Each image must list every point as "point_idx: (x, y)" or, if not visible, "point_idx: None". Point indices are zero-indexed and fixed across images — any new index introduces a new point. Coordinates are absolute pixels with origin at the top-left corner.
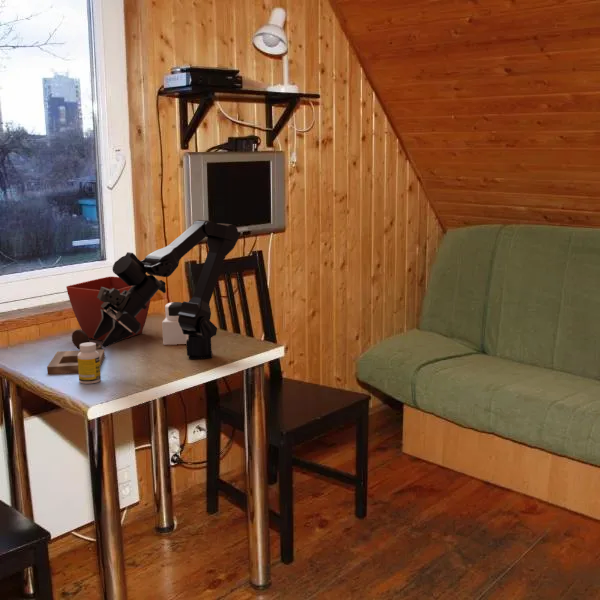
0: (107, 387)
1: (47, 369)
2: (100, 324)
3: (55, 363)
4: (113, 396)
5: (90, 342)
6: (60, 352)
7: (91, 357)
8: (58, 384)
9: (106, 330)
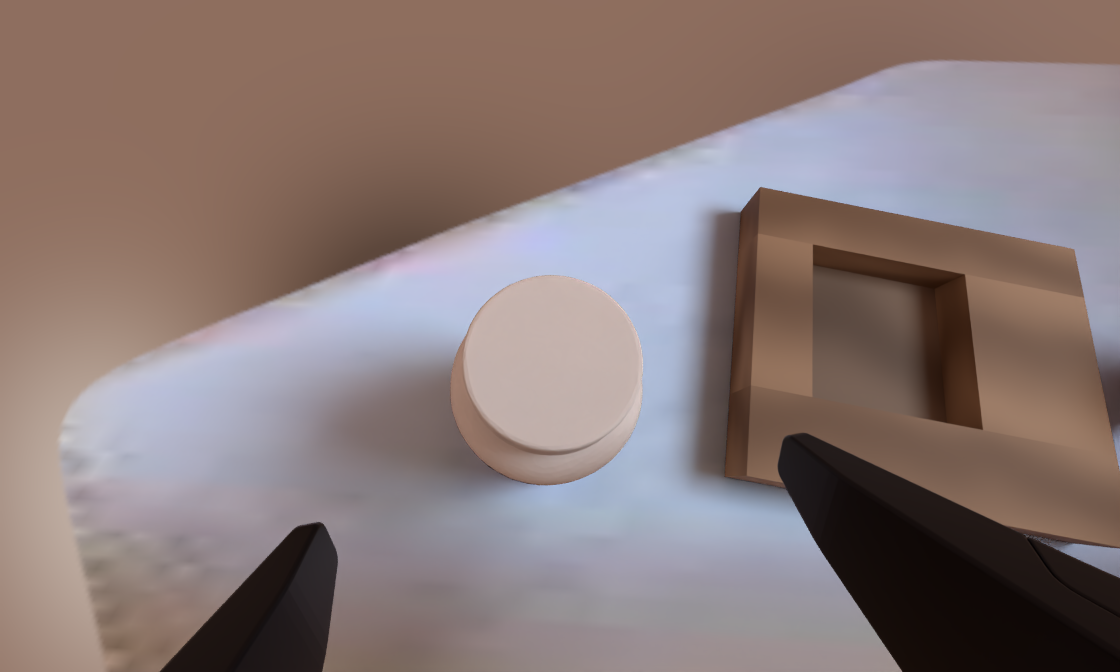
0: (365, 515)
1: (753, 197)
2: (995, 577)
3: (820, 229)
4: (153, 542)
5: (625, 392)
6: (1053, 265)
7: (451, 404)
8: (544, 251)
9: (916, 658)
